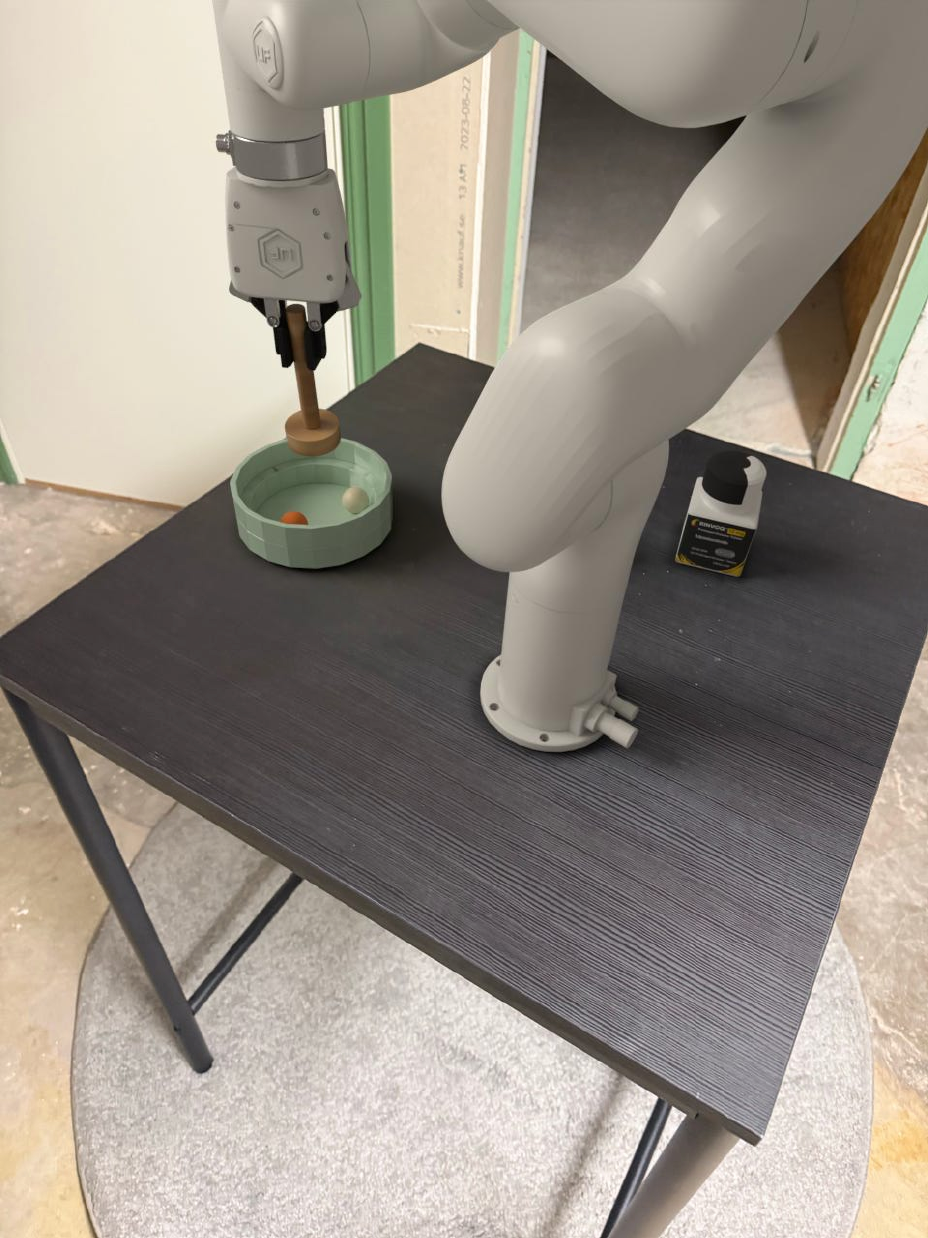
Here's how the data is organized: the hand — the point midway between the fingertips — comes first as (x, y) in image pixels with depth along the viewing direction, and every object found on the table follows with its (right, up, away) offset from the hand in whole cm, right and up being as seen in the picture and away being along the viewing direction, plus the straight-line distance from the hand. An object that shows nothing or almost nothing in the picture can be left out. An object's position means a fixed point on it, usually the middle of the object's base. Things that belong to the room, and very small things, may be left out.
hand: (302, 361), depth 84 cm
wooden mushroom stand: (0, -6, +7) cm, 9 cm away
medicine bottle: (+43, -17, +14) cm, 49 cm away
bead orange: (-3, -15, +11) cm, 18 cm away
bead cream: (+3, -11, +15) cm, 19 cm away
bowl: (-1, -14, +15) cm, 20 cm away
